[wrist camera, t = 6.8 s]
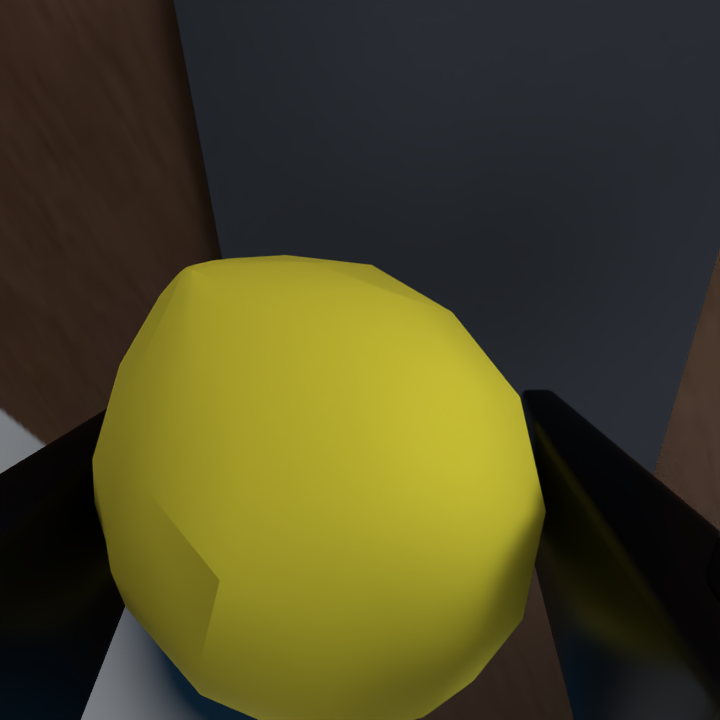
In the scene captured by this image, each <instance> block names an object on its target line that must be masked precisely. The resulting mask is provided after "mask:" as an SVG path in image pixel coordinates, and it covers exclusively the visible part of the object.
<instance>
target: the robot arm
mask: <svg viewBox="0 0 720 720" xmlns="http://www.w3.org/2000/svg"><path fill="white" fill-rule="evenodd" d="M520 399H521V404H522V408H523V413H524V417H525V422H526V426H527V430H528V435H529V439H530V444H531V448H532V452H533V457H534V461H535V466H536V470H537V474H538V479H539V483H540V488H541V492H542V496H543V501H544V505H545V510H546V513H545V518H544V522H543V527H542V532H541V536H540V541H539V546H538V550H537V555H536V559H535V568H536V572H537V576H538V580H539V584H540V588H541V591H542V595H543V599H544V603H545V607H546V611H547V615H548V619H549V623H550V627H551V631H552V635H553V638H554V642H555V646H556V650H557V654H558V658H559V662H560V666H561V670H562V674H563V678H564V681H565V685H566V689H567V693H568V697H569V701H570V705H571V709H572V713H573V717H574V720H720V537H719V536H720V531H719V530H718V529H717V528H716V527H714V526H713V525H712V524H711V523H710V522H708V521H707V520H706V519H705V518H704V517H703V516H701V515H700V514H699V513H698V512H697V511H695V510H694V509H693V508H692V507H691V506H689V505H688V504H687V503H686V502H685V501H683V500H682V499H681V498H680V497H679V496H677V495H676V494H675V493H674V492H673V491H671V490H670V489H669V488H668V487H667V486H665V485H664V484H663V483H662V482H661V481H659V480H658V479H657V478H656V477H655V476H653V475H652V474H651V473H650V472H649V471H647V470H646V469H645V468H644V467H643V466H641V465H640V464H639V463H638V462H637V461H635V460H634V459H633V458H632V457H631V456H629V455H628V454H627V453H626V452H625V451H624V450H622V449H621V448H620V447H619V446H618V445H616V444H615V443H614V442H613V441H612V440H610V439H609V438H608V437H607V436H606V435H604V434H603V433H602V432H601V431H600V430H598V429H597V428H596V427H595V426H594V425H592V424H591V423H590V422H589V421H588V420H586V419H585V418H584V417H583V416H582V415H580V414H579V413H578V412H577V411H576V410H574V409H573V408H572V407H571V406H570V405H568V404H567V403H566V402H565V401H564V400H562V399H561V398H560V397H559V396H558V395H556V394H555V393H554V392H553V391H551V390H524V391H523V392H522V394H521V398H520ZM106 411H107V409H106V410H104V411H102V412H101V413H99V414H97V415H96V416H94V417H93V418H91V419H89V420H88V421H86V422H84V423H83V424H81V425H79V426H78V427H76V428H74V429H73V430H71V431H70V432H68V433H66V434H65V435H63V436H61V437H60V438H58V439H56V440H55V441H53V442H52V443H50V444H48V445H47V446H45V447H43V448H42V449H40V450H38V451H37V452H35V453H34V454H32V455H30V456H29V457H27V458H25V459H24V460H22V461H20V462H19V463H17V464H16V465H14V466H12V467H11V468H9V469H7V470H6V471H4V472H2V473H1V474H0V720H81V717H82V715H83V712H84V710H85V707H86V705H87V702H88V700H89V697H90V694H91V692H92V689H93V687H94V684H95V681H96V679H97V677H98V674H99V671H100V669H101V666H102V664H103V661H104V659H105V656H106V654H107V651H108V648H109V646H110V643H111V641H112V638H113V636H114V633H115V631H116V628H117V626H118V623H119V620H120V618H121V615H122V613H123V610H124V608H125V604H124V601H123V599H122V597H121V594H120V592H119V590H118V587H117V585H116V583H115V580H114V578H113V575H112V573H111V569H110V563H109V557H108V551H107V545H106V539H105V536H104V533H103V529H102V526H101V523H100V520H99V516H98V513H97V510H96V506H95V502H94V481H93V461H92V460H93V456H94V453H95V449H96V446H97V442H98V439H99V435H100V432H101V428H102V425H103V421H104V418H105V414H106Z"/></svg>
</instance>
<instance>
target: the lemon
mask: <svg viewBox="0 0 720 720" xmlns="http://www.w3.org/2000/svg"><path fill="white" fill-rule="evenodd" d="M92 461H93V481H94V502H95V506H96V510H97V513H98V516H99V520H100V523H101V526H102V529H103V533H104V536H105V539H106V545H107V551H108V557H109V563H110V569H111V573H112V575H113V578H114V580H115V583H116V585H117V587H118V590H119V592H120V594H121V597H122V599H123V601H124V604H125V606H126V608H127V609H128V610H129V611H130V612H131V614H132V615H133V616H134V617H135V618H136V619H137V621H138V622H139V623H140V624H141V625H142V627H143V628H144V629H145V630H146V631H147V632H148V633H149V635H150V636H151V637H152V638H153V639H154V641H155V642H156V643H157V644H158V645H159V646H160V648H161V649H162V650H163V651H164V652H165V653H166V655H167V656H168V657H169V658H170V659H171V661H172V662H173V663H174V664H175V665H176V666H177V668H179V670H180V671H181V672H182V674H183V675H184V676H185V677H186V678H187V679H188V681H189V682H190V683H191V684H192V685H193V687H194V688H195V689H196V690H197V691H198V692H199V694H200V695H202V696H205V697H207V698H209V699H212V700H214V701H216V702H219V703H221V704H223V705H226V706H228V707H230V708H233V709H235V710H237V711H240V712H242V713H244V714H247V715H249V716H251V717H254V718H256V719H258V720H414V719H418V718H422V717H424V716H426V715H427V714H429V713H430V712H431V711H433V710H434V709H435V708H437V707H438V706H440V705H441V704H442V703H444V702H445V701H446V700H448V699H449V698H451V697H452V696H453V695H455V694H456V693H457V692H459V691H460V690H462V689H463V688H464V687H466V686H467V685H468V684H470V683H471V682H473V681H474V680H475V678H476V677H477V676H478V675H479V673H480V672H481V671H482V670H483V668H484V667H485V666H486V665H487V663H488V662H489V661H490V660H491V658H492V657H493V656H494V655H495V653H496V652H497V651H498V650H499V648H500V647H501V646H502V645H503V643H504V642H505V641H506V640H507V638H508V637H509V636H510V635H511V633H512V632H513V631H514V629H515V628H516V627H517V626H518V624H519V623H520V622H521V621H522V619H523V615H524V610H525V606H526V601H527V597H528V592H529V587H530V583H531V578H532V573H533V569H534V564H535V559H536V555H537V550H538V546H539V541H540V536H541V532H542V527H543V522H544V518H545V513H546V510H545V505H544V501H543V496H542V492H541V488H540V483H539V479H538V474H537V470H536V466H535V461H534V457H533V452H532V448H531V444H530V439H529V435H528V430H527V426H526V422H525V417H524V413H523V408H522V404H521V399H520V397H519V395H518V394H517V393H516V392H515V390H514V389H513V388H512V387H511V385H510V384H509V383H508V382H507V380H506V379H505V378H504V377H503V375H502V374H501V373H500V371H499V370H498V369H497V368H496V366H495V365H494V364H493V363H492V361H491V360H490V359H489V358H488V356H487V355H486V354H485V353H484V351H483V350H482V349H481V348H480V346H479V345H478V344H477V343H476V341H475V340H474V339H473V338H472V336H471V335H470V334H469V333H468V331H467V330H466V329H465V328H464V326H463V325H462V324H461V323H460V321H459V320H458V319H457V318H456V316H455V315H454V314H453V313H452V312H451V311H449V310H448V309H446V308H444V307H442V306H441V305H439V304H437V303H436V302H434V301H432V300H431V299H429V298H427V297H425V296H424V295H422V294H420V293H419V292H417V291H415V290H414V289H412V288H410V287H408V286H407V285H405V284H403V283H402V282H400V281H398V280H396V279H395V278H393V277H391V276H390V275H388V274H386V273H385V272H383V271H381V270H379V269H378V268H376V267H374V266H373V265H369V264H360V263H351V262H342V261H334V260H325V259H316V258H307V257H298V256H290V255H280V256H263V257H247V258H230V259H223V260H213V261H208V262H204V263H200V264H195V265H192V266H189V267H186V268H185V269H184V270H182V271H181V272H180V273H178V275H177V276H176V277H175V278H174V279H173V280H172V282H171V283H170V284H169V285H168V286H167V287H166V289H165V290H164V291H163V292H162V293H161V294H160V296H159V298H158V300H157V301H156V303H155V305H154V306H153V308H152V310H151V312H150V313H149V315H148V317H147V319H146V320H145V322H144V324H143V325H142V327H141V329H140V331H139V332H138V334H137V336H136V337H135V339H134V341H133V343H132V344H131V346H130V348H129V350H128V351H127V353H126V355H125V356H124V358H123V360H122V362H121V363H120V365H119V369H118V372H117V376H116V379H115V383H114V386H113V390H112V393H111V397H110V400H109V404H108V407H107V411H106V414H105V418H104V421H103V425H102V428H101V432H100V435H99V439H98V442H97V446H96V449H95V453H94V456H93V460H92Z"/></svg>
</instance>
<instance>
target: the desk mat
mask: <svg viewBox="0 0 720 720" xmlns="http://www.w3.org/2000/svg"><path fill="white" fill-rule="evenodd" d="M173 2H174V8H175V13H176V18H177V24H178V29H179V34H180V40H181V45H182V50H183V56H184V61H185V66H186V72H187V77H188V82H189V88H190V93H191V98H192V104H193V109H194V114H195V120H196V125H197V130H198V136H199V141H200V146H201V152H202V157H203V162H204V168H205V173H206V178H207V183H208V189H209V194H210V199H211V205H212V210H213V215H214V221H215V226H216V231H217V237H218V242H219V247H220V253H221V258H222V260H223V259H230V258H247V257H263V256H280V255H290V256H298V257H307V258H316V259H325V260H334V261H342V262H351V263H360V264H369V265H373V266H374V267H376V268H378V269H379V270H381V271H383V272H385V273H386V274H388V275H390V276H391V277H393V278H395V279H396V280H398V281H400V282H402V283H403V284H405V285H407V286H408V287H410V288H412V289H414V290H415V291H417V292H419V293H420V294H422V295H424V296H425V297H427V298H429V299H431V300H432V301H434V302H436V303H437V304H439V305H441V306H442V307H444V308H446V309H448V310H449V311H451V312H452V313H453V314H454V315H455V316H456V318H457V319H458V320H459V321H460V323H461V324H462V325H463V326H464V328H465V329H466V330H467V331H468V333H469V334H470V335H471V336H472V338H473V339H474V340H475V341H476V343H477V344H478V345H479V346H480V348H481V349H482V350H483V351H484V353H485V354H486V355H487V356H488V358H489V359H490V360H491V361H492V363H493V364H494V365H495V366H496V368H497V369H498V370H499V371H500V373H501V374H502V375H503V377H504V378H505V379H506V380H507V382H508V383H509V384H510V385H511V387H512V388H513V389H514V390H515V392H516V393H517V394H518V395H519V397H520V398H521V394H522V392H523V391H524V390H551V391H553V392H554V393H555V394H556V395H558V396H559V397H560V398H561V399H562V400H564V401H565V402H566V403H567V404H568V405H570V406H571V407H572V408H573V409H574V410H576V411H577V412H578V413H579V414H580V415H582V416H583V417H584V418H585V419H586V420H588V421H589V422H590V423H591V424H592V425H594V426H595V427H596V428H597V429H598V430H600V431H601V432H602V433H603V434H604V435H606V436H607V437H608V438H609V439H610V440H612V441H613V442H614V443H615V444H616V445H618V446H619V447H620V448H621V449H622V450H624V451H625V452H626V453H627V454H628V455H629V456H631V457H632V458H633V459H634V460H635V461H637V462H638V463H639V464H640V465H641V466H643V467H644V468H645V469H646V470H647V471H649V472H650V473H651V474H652V475H653V473H654V470H655V467H656V463H657V460H658V456H659V453H660V449H661V446H662V443H663V439H664V436H665V432H666V429H667V425H668V422H669V419H670V415H671V412H672V408H673V405H674V401H675V398H676V395H677V391H678V388H679V384H680V381H681V377H682V374H683V371H684V367H685V364H686V360H687V357H688V353H689V350H690V347H691V343H692V340H693V336H694V333H695V330H696V326H697V323H698V319H699V316H700V312H701V309H702V306H703V302H704V299H705V295H706V292H707V288H708V285H709V282H710V278H711V275H712V271H713V268H714V264H715V261H716V258H717V254H718V251H719V247H720V0H173Z"/></svg>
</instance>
